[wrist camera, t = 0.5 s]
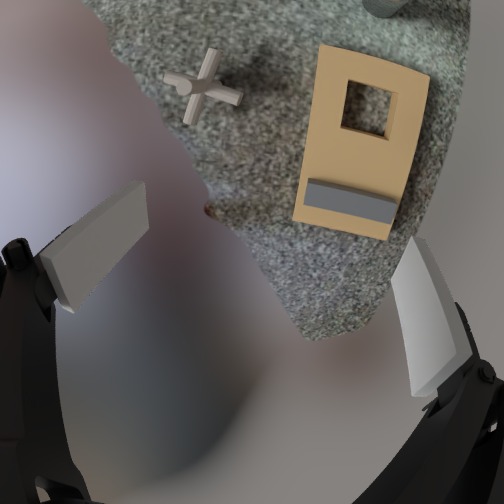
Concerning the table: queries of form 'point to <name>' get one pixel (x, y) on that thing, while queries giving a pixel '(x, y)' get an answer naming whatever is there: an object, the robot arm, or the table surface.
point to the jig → (358, 146)
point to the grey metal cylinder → (383, 7)
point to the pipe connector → (202, 87)
